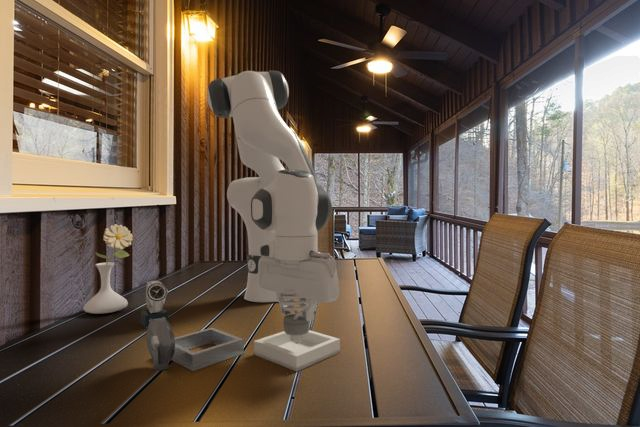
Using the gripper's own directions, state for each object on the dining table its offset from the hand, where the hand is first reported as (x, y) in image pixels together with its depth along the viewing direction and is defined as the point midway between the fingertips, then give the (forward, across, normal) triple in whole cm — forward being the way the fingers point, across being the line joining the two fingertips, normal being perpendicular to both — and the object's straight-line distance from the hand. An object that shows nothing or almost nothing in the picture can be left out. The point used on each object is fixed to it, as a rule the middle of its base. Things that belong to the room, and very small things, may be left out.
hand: (296, 316), depth 82 cm
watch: (+8, +42, +10) cm, 44 cm away
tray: (+8, 0, 0) cm, 8 cm away
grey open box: (+7, +14, +15) cm, 22 cm away
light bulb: (+6, 0, 0) cm, 6 cm away
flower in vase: (+8, +64, +13) cm, 66 cm away
